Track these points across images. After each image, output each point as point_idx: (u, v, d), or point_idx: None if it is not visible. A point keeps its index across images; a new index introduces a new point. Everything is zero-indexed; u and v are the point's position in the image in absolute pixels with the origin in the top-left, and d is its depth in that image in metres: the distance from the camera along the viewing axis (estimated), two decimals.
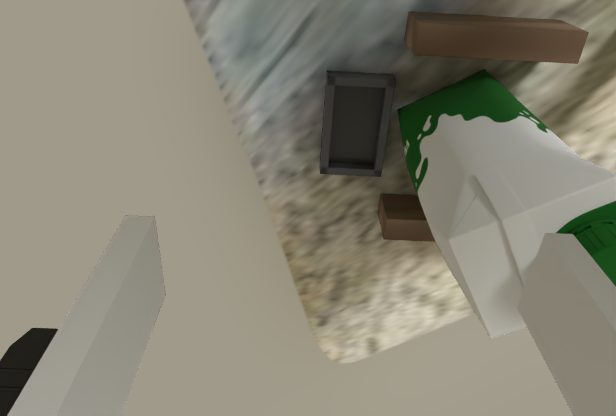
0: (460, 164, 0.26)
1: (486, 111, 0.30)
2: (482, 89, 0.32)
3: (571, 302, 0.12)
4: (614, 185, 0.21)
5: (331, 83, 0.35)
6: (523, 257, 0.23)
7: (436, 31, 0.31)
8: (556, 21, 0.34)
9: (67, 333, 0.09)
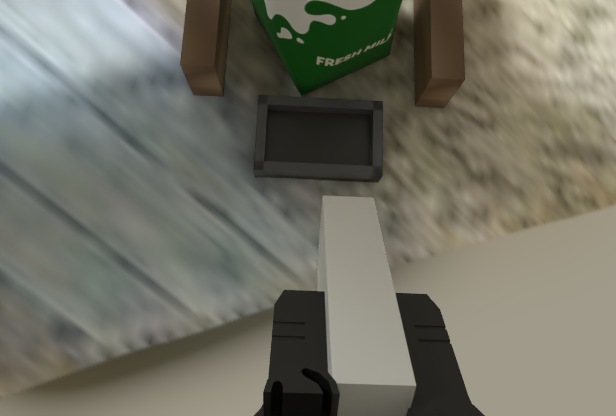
0: None
1: None
2: None
3: None
4: None
5: (261, 164, 0.30)
6: None
7: (189, 46, 0.29)
8: None
9: (337, 291, 0.10)
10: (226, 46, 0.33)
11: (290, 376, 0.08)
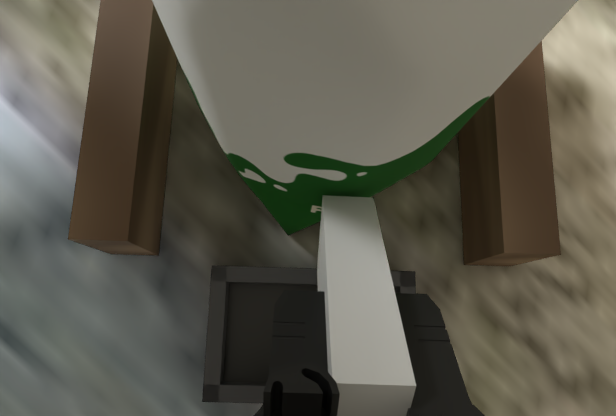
0: (194, 48, 0.09)
1: None
2: None
3: None
4: None
5: (216, 392, 0.18)
6: None
7: (85, 206, 0.17)
8: None
9: (337, 291, 0.10)
10: (164, 173, 0.21)
11: (290, 376, 0.08)
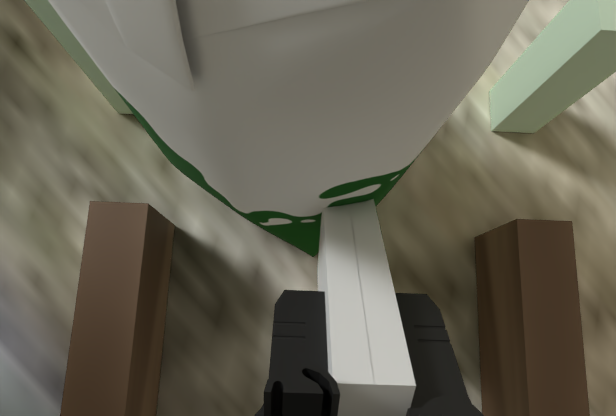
0: (233, 140, 0.08)
1: (162, 143, 0.13)
2: (172, 163, 0.16)
3: None
4: None
5: None
6: None
7: None
8: None
9: (337, 291, 0.10)
10: (154, 413, 0.19)
11: (290, 376, 0.08)
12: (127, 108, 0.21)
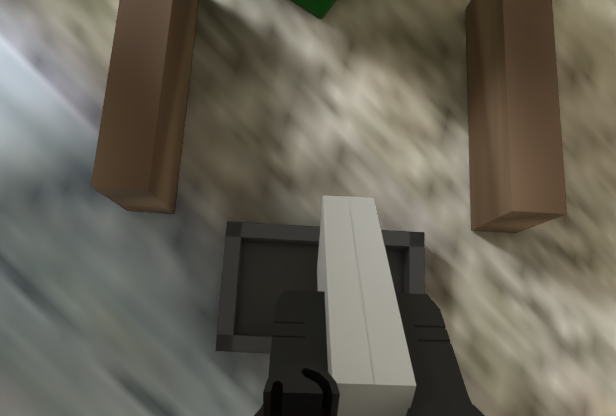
0: None
1: None
2: None
3: None
4: None
5: (229, 342, 0.18)
6: None
7: (108, 155, 0.17)
8: None
9: (337, 291, 0.10)
10: (181, 134, 0.21)
11: (290, 376, 0.08)
12: None
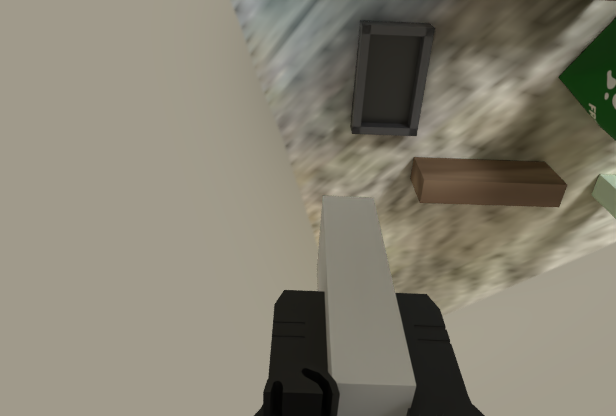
0: None
1: None
2: None
3: None
4: None
5: (366, 32, 0.33)
6: None
7: None
8: None
9: (337, 291, 0.10)
10: None
11: (290, 376, 0.08)
12: None
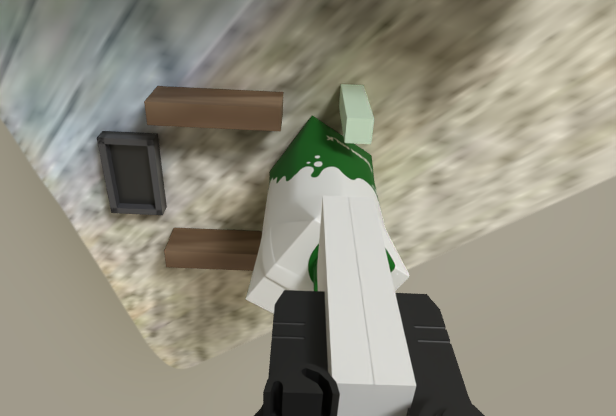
0: None
1: (287, 170, 0.37)
2: (295, 144, 0.40)
3: None
4: (316, 225, 0.28)
5: (101, 142, 0.43)
6: (300, 290, 0.31)
7: (159, 107, 0.39)
8: (275, 94, 0.42)
9: (337, 291, 0.10)
10: None
11: (290, 376, 0.08)
12: (340, 93, 0.42)
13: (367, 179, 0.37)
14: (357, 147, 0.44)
